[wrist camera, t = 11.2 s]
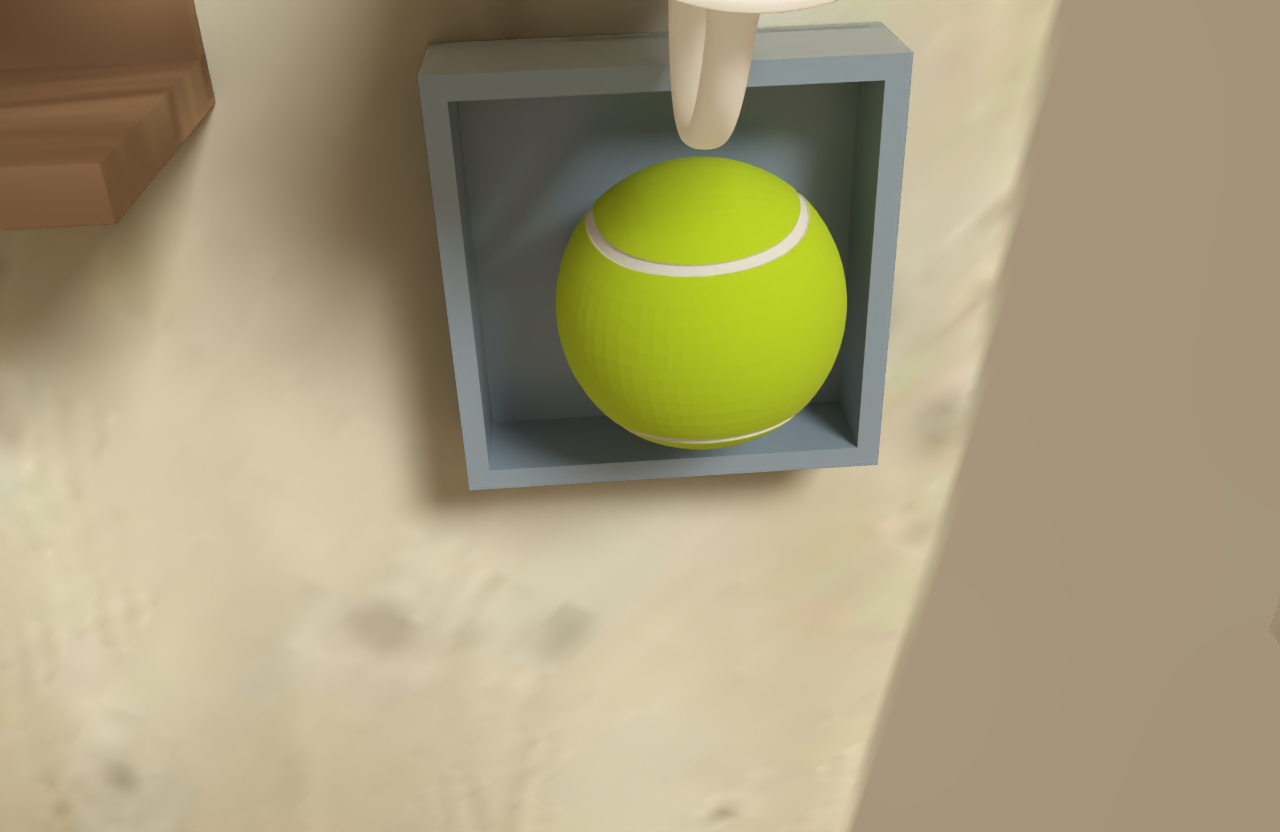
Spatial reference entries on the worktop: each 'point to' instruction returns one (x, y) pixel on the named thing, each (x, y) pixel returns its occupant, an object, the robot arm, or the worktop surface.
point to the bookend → (93, 104)
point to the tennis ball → (701, 302)
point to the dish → (597, 160)
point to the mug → (714, 62)
